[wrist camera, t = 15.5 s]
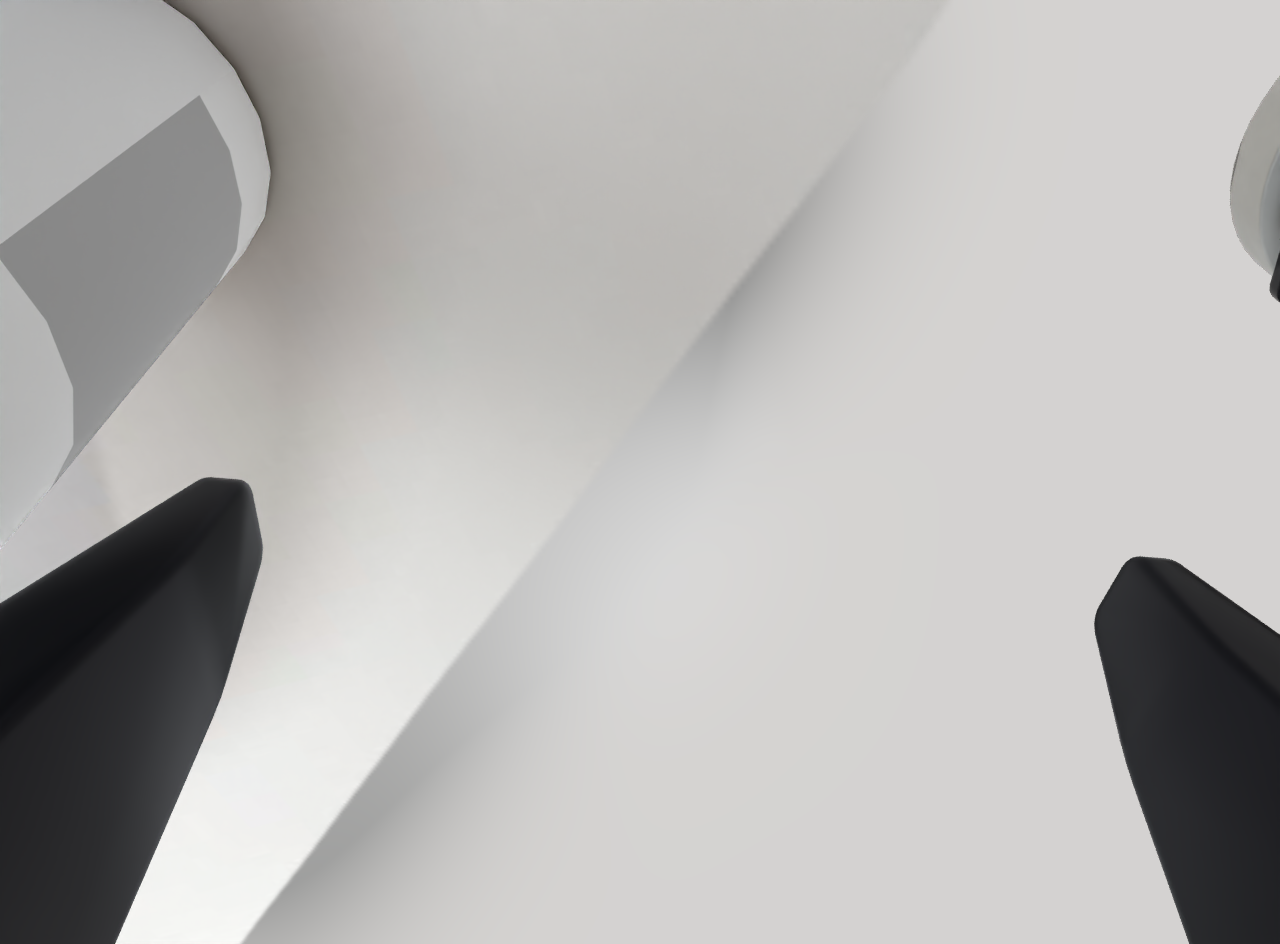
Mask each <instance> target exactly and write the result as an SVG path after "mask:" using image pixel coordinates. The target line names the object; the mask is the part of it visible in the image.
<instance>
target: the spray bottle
mask: <svg viewBox="0 0 1280 944" xmlns="http://www.w3.org/2000/svg"><path fill="white" fill-rule="evenodd" d="M270 174H271V171H270V166H269V161H268V156H267V151H266V146H265V141H264V137H263V132H262V127H261V122H260V118H259V116H258V114H257V112H256V110H255V108H254V106H253V104H252V102H251V101H250V99H249V97H248V95H247V93H246V91H245V89H244V87H243V85H242V83H241V81H240V79H239V77H238V75H237V73H236V71H235V70H234V68H233V67H232V66H231V64H230V63H229V62H228V61H227V60H226V59H225V58H224V56H223V55H222V54H221V53H220V52H219V51H218V50H217V48H216V47H215V46H214V45H213V44H212V43H211V42H210V40H209V39H208V38H207V37H206V36H205V35H204V34H203V32H202V31H201V30H200V29H199V28H198V27H197V26H196V24H195V23H194V22H192V21H191V20H190V19H188V18H187V17H185V16H184V15H182V14H181V13H180V12H178V11H177V10H175V9H174V8H173V7H171V6H170V5H168V4H167V3H165V2H164V1H163V0H0V550H1V548H2V547H3V546H4V545H5V543H6V542H7V541H8V540H9V539H10V537H11V536H12V535H13V534H14V532H15V531H16V530H17V529H18V528H19V526H20V525H21V524H22V523H23V521H24V520H25V519H26V518H27V517H28V515H29V514H30V513H31V512H32V511H33V509H34V508H35V507H36V506H37V504H38V503H39V502H40V501H41V500H42V498H43V497H44V496H45V495H46V493H47V492H48V491H49V490H50V489H51V487H52V486H53V485H54V484H55V482H56V481H57V480H58V479H59V478H60V476H61V475H62V474H63V473H64V472H65V470H66V469H67V468H68V467H69V465H70V464H71V463H72V462H73V461H74V459H75V458H76V457H77V456H78V454H79V453H80V452H81V451H82V450H83V448H84V447H85V446H86V445H87V443H88V442H89V441H90V440H91V439H92V437H93V436H94V435H95V434H96V433H97V431H98V430H99V429H100V428H101V426H102V425H103V424H104V423H105V422H106V420H107V419H108V418H109V417H110V415H111V414H112V413H113V412H114V411H115V409H116V408H117V407H118V406H119V404H120V403H121V402H122V401H123V400H124V398H125V397H126V396H127V395H128V394H129V392H130V391H131V390H132V389H133V387H134V386H135V385H136V384H137V383H138V381H139V380H140V379H141V378H142V376H143V375H144V374H145V373H146V372H147V370H148V369H149V368H150V367H151V365H152V364H153V363H154V362H155V361H156V359H157V358H158V357H159V356H160V355H161V353H162V352H163V351H164V350H165V348H166V347H167V346H168V345H169V344H170V342H171V341H172V340H173V339H174V337H175V336H176V335H177V334H178V333H179V331H180V330H181V329H182V328H183V326H184V325H185V324H186V323H187V322H188V320H189V319H190V318H191V317H192V316H193V314H194V313H195V312H196V311H197V309H198V308H199V307H200V306H201V305H202V303H203V302H204V301H205V300H206V298H207V297H208V296H209V295H210V294H211V292H212V291H213V290H214V289H215V287H216V286H217V285H218V284H219V283H220V281H221V280H222V279H223V278H224V277H225V275H226V274H227V273H228V272H229V270H230V269H231V268H232V267H233V266H234V264H235V263H236V262H237V261H238V259H239V258H240V257H241V256H242V255H243V253H244V252H245V251H246V249H247V247H248V245H249V244H250V242H251V240H252V238H253V237H254V235H255V233H256V231H257V230H258V228H259V226H260V224H261V223H262V221H263V219H264V217H265V213H266V205H267V197H268V190H269V182H270Z"/></svg>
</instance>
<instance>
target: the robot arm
mask: <svg viewBox="0 0 1280 944" xmlns="http://www.w3.org/2000/svg"><path fill="white" fill-rule="evenodd" d="M1270 293H1271V295H1272V296H1273V297H1274V298H1275V299H1276V300H1277V301H1279V302H1280V252H1279V255H1278V259H1277V262H1276V265H1275V269H1274V272H1273V276H1272V280H1271V283H1270ZM262 551H263V545H262V538H261V533H260V528H259V523H258V518H257V513H256V508H255V503H254V498H253V493H252V490H251V488H250V486H249V485H248V484H247V483H246V482H244V481H243V480H238V479H226V478H214V477H208V478H202V479H200V480H198V481H196V482H195V483H193V484H191V485H190V486H188V487H187V488H185V489H183V490H182V491H180V492H179V493H177V494H175V495H174V496H172V497H171V498H169V499H167V500H166V501H164V502H163V503H161V504H159V505H158V506H156V507H154V508H153V509H151V510H150V511H148V512H146V513H145V514H143V515H142V516H140V517H138V518H137V519H135V520H134V521H132V522H130V523H129V524H127V525H126V526H124V527H122V528H121V529H119V530H117V531H116V532H114V533H113V534H111V535H109V536H108V537H106V538H105V539H103V540H101V541H100V542H98V543H97V544H95V545H93V546H92V547H90V548H89V549H87V550H85V551H84V552H82V553H81V554H79V555H77V556H76V557H74V558H72V559H71V560H69V561H68V562H66V563H64V564H63V565H61V566H60V567H58V568H56V569H55V570H53V571H52V572H50V573H48V574H47V575H45V576H44V577H42V578H40V579H39V580H37V581H35V582H34V583H32V584H31V585H29V586H27V587H26V588H24V589H23V590H21V591H19V592H18V593H16V594H15V595H13V596H11V597H10V598H8V599H7V600H5V601H3V602H2V603H0V944H115V943H116V940H117V938H118V936H119V933H120V931H121V929H122V927H123V924H124V922H125V920H126V917H127V915H128V913H129V910H130V908H131V906H132V903H133V901H134V899H135V896H136V894H137V892H138V890H139V887H140V885H141V883H142V880H143V878H144V876H145V873H146V871H147V869H148V866H149V864H150V862H151V860H152V857H153V855H154V853H155V850H156V848H157V846H158V843H159V841H160V839H161V836H162V834H163V832H164V829H165V827H166V825H167V823H168V820H169V818H170V816H171V813H172V811H173V809H174V806H175V804H176V802H177V799H178V797H179V795H180V792H181V790H182V788H183V786H184V783H185V781H186V779H187V776H188V774H189V772H190V769H191V767H192V765H193V762H194V760H195V758H196V756H197V753H198V751H199V749H200V746H201V744H202V742H203V739H204V737H205V735H206V732H207V730H208V728H209V725H210V723H211V721H212V718H213V716H214V713H215V711H216V708H217V706H218V703H219V701H220V698H221V696H222V692H223V689H224V686H225V683H226V680H227V677H228V674H229V670H230V667H231V664H232V660H233V657H234V653H235V650H236V647H237V643H238V640H239V637H240V633H241V630H242V626H243V623H244V620H245V616H246V613H247V609H248V606H249V603H250V599H251V596H252V592H253V589H254V586H255V582H256V579H257V576H258V572H259V569H260V565H261V560H262ZM1094 626H1095V635H1096V639H1097V644H1098V648H1099V652H1100V657H1101V661H1102V665H1103V670H1104V674H1105V678H1106V682H1107V687H1108V691H1109V695H1110V699H1111V703H1112V708H1113V712H1114V716H1115V721H1116V724H1117V729H1118V733H1119V738H1120V742H1121V746H1122V749H1123V753H1124V757H1125V760H1126V764H1127V767H1128V770H1129V773H1130V776H1131V780H1132V782H1133V786H1134V788H1135V791H1136V794H1137V797H1138V800H1139V802H1140V805H1141V808H1142V811H1143V814H1144V817H1145V820H1146V822H1147V825H1148V828H1149V831H1150V834H1151V837H1152V839H1153V842H1154V845H1155V848H1156V851H1157V854H1158V856H1159V859H1160V862H1161V865H1162V868H1163V871H1164V873H1165V876H1166V879H1167V882H1168V885H1169V888H1170V890H1171V893H1172V896H1173V899H1174V902H1175V905H1176V907H1177V910H1178V913H1179V916H1180V919H1181V922H1182V924H1183V927H1184V930H1185V933H1186V936H1187V939H1188V941H1189V944H1280V634H1278V633H1277V632H1275V631H1274V630H1272V629H1271V628H1270V627H1268V626H1267V625H1265V624H1264V623H1262V622H1261V621H1260V620H1258V619H1257V618H1256V617H1254V616H1253V615H1251V614H1250V613H1248V612H1247V611H1246V610H1244V609H1243V608H1241V607H1240V606H1239V605H1237V604H1236V603H1234V602H1233V601H1232V600H1230V599H1229V598H1227V597H1226V596H1224V595H1223V594H1222V593H1220V592H1219V591H1217V590H1216V589H1215V588H1213V587H1212V586H1210V585H1209V584H1207V583H1206V582H1205V581H1203V580H1202V579H1200V578H1199V577H1198V576H1196V575H1195V574H1193V573H1192V572H1191V571H1189V570H1188V569H1186V568H1185V567H1183V566H1182V565H1181V564H1179V563H1177V562H1176V561H1173V560H1170V559H1164V558H1152V557H1133V558H1131V559H1130V560H1128V561H1127V562H1126V563H1125V564H1124V565H1123V567H1122V568H1121V570H1120V572H1119V573H1118V575H1117V577H1116V578H1115V580H1114V582H1113V583H1112V585H1111V587H1110V589H1109V590H1108V592H1107V594H1106V595H1105V597H1104V599H1103V600H1102V602H1101V604H1100V605H1099V608H1098V609H1097V613H1096V616H1095V623H1094Z"/></svg>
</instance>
